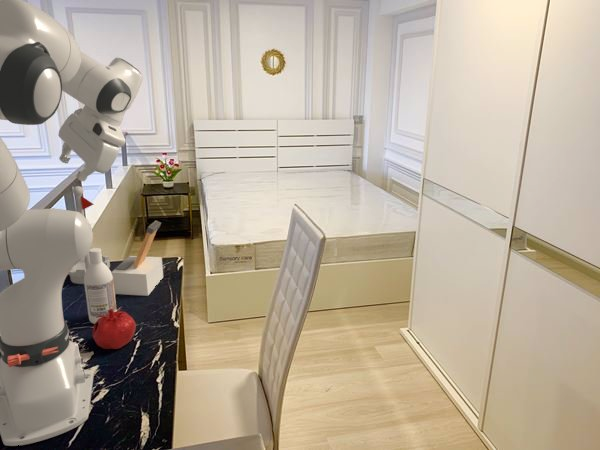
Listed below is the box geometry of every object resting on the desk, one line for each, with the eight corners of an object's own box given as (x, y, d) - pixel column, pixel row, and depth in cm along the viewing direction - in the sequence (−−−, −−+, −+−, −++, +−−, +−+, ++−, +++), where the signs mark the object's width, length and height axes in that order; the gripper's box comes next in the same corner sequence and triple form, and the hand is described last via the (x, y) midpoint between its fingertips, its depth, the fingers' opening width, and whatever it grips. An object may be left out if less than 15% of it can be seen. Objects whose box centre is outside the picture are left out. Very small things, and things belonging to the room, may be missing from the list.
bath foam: (120, 319, 122) (113, 250, 116) (93, 328, 118) (84, 256, 112) (112, 309, 127) (104, 242, 121) (86, 317, 123) (76, 248, 117)
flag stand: (57, 281, 143) (42, 189, 133) (87, 266, 155) (75, 179, 145) (91, 288, 139) (79, 193, 130) (119, 271, 151) (110, 183, 142)
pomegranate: (144, 335, 116) (142, 302, 113) (119, 357, 107) (116, 322, 104) (111, 328, 118) (108, 295, 115) (84, 348, 109) (80, 314, 106)
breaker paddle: (145, 260, 143) (161, 222, 138) (137, 268, 137) (153, 229, 132) (140, 257, 142) (155, 220, 138) (132, 266, 136) (147, 226, 132)
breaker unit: (163, 277, 148) (161, 255, 145) (148, 295, 135) (145, 272, 133) (131, 275, 148) (129, 254, 146) (113, 293, 136) (111, 270, 134)
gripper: (67, 100, 113) (41, 147, 115) (107, 135, 103) (78, 186, 105) (89, 110, 119) (64, 155, 120) (129, 144, 109) (101, 193, 110)
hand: (71, 170), depth 113 cm, fingers open, 8 cm apart
